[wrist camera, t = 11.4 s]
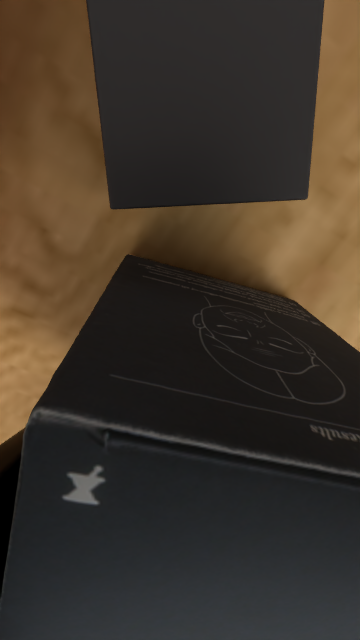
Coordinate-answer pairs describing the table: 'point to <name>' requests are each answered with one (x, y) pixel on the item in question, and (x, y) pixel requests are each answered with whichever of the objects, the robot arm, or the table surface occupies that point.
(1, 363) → the table surface
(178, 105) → the block
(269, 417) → the box
